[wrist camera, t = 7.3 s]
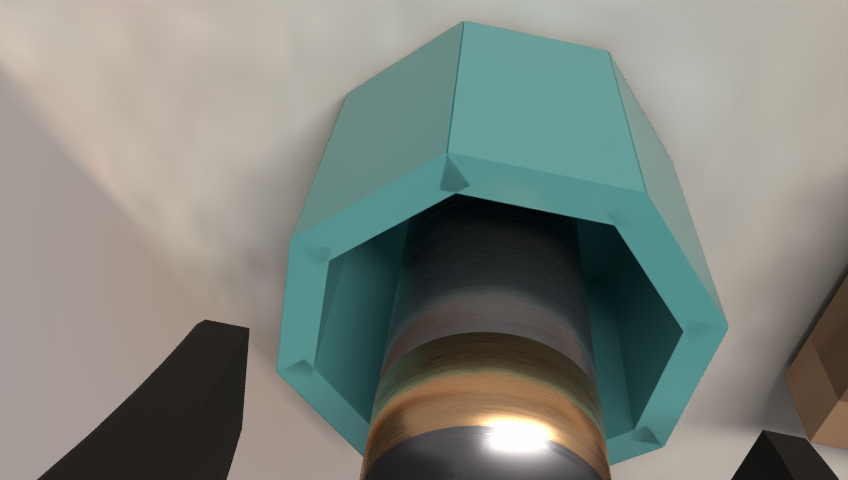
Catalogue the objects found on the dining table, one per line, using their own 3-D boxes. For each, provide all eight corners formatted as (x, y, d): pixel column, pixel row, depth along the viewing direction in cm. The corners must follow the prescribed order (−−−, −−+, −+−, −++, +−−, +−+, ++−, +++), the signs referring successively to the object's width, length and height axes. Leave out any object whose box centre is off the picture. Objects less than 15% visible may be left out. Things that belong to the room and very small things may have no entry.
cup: (712, 230, 17) (777, 406, 13) (450, 347, 19) (434, 526, 15) (556, -39, 14) (576, 78, 10) (273, 140, 17) (195, 292, 12)
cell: (603, 224, 16) (667, 590, 10) (468, 288, 18) (445, 650, 11) (521, 99, 15) (531, 429, 8) (381, 178, 16) (294, 520, 10)
